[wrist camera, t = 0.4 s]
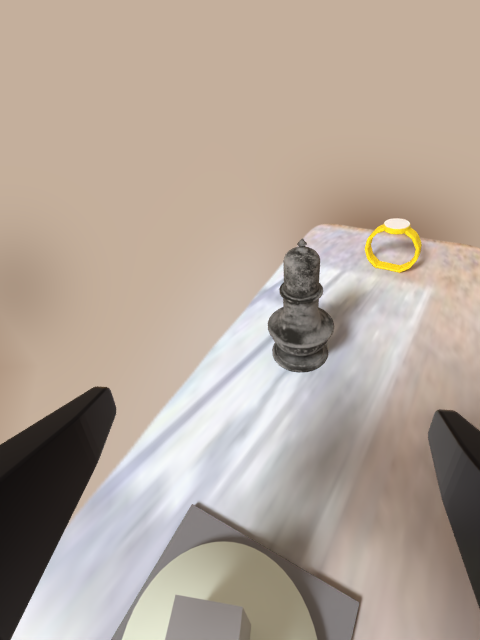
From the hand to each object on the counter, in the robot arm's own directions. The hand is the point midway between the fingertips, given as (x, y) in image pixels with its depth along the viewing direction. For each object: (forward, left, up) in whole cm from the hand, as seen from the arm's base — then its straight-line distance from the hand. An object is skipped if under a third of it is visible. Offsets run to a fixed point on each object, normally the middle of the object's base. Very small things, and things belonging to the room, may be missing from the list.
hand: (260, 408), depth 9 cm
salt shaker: (+18, -1, -16) cm, 24 cm away
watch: (+33, -11, -16) cm, 38 cm away
